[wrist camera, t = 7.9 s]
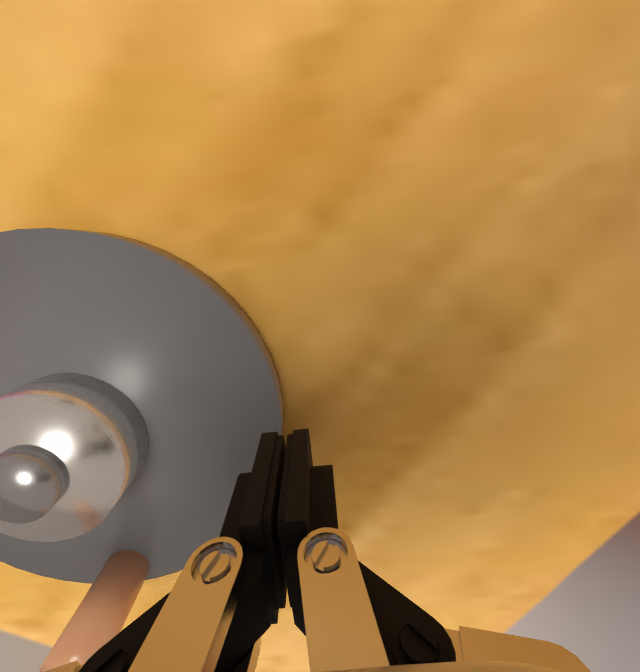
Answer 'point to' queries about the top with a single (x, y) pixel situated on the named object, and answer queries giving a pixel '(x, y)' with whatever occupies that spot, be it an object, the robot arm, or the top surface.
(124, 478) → the cover
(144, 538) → the grey domed disc
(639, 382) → the top surface
